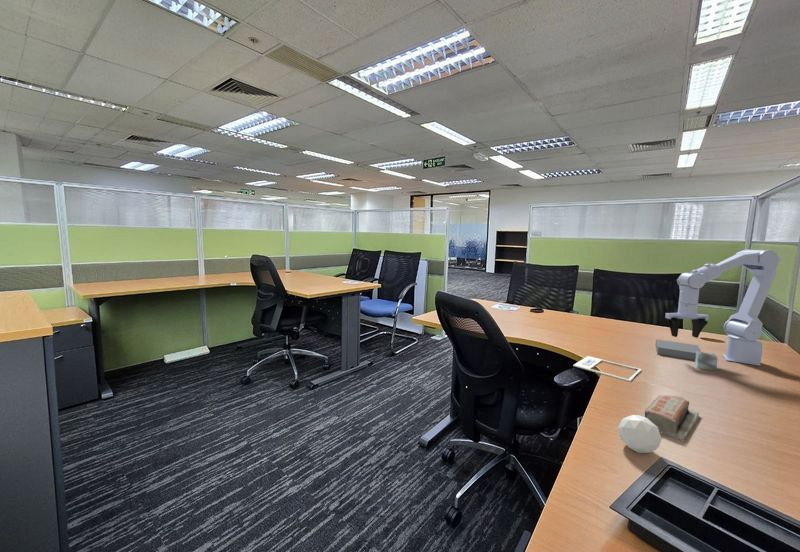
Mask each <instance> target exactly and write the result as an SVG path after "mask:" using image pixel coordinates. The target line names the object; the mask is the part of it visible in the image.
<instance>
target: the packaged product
mask: <svg viewBox="0 0 800 552" xmlns="http://www.w3.org/2000/svg"><path fill="white" fill-rule="evenodd" d="M689 405H690V401H689V400H686V399H685V398H684V397H681V396H676V395H675V396H674V395H666V394H665V395H663V394H661V395H658V396H657V397H655V399H654V400H653V401H651V402H650V404H649V405H648V406H647V407H646V408H645V409H644V411H643V412H642V413H641V414H640V416H643V417H645V418H648V419H649V420H650V421H651V422H652V423H653V424H655V425H656V426H657V427H658V429H659V433H660V432H662V433H661V434H663V433H665V434H664V435H666V434H667V435H666V436H669V437H671V436H672V437H671V438H674V437H675V438H674V439H677V438H678V440H680V439H681V440H680V441H682V440H684V439H685V440H686V438H687V436H688V435H689V433H690V432H691V431H692V429H693V427H694V426H695V424H696V422H697V420H698V418H699V414H700V411H697V410H692V409H689ZM690 430H691V431H690ZM685 440H684V441H685Z"/></svg>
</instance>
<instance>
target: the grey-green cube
mask: <svg viewBox="0 0 800 552" xmlns="http://www.w3.org/2000/svg"><path fill="white" fill-rule="evenodd" d="M718 359H719V358H718V356H717V355H716V353H710V352H705V351H704V352H703V351H701V352H698V351H696V359H695V360H694V361H695V362H694V364H695V366H696V368H697V369H704V370H707V371H708V370H709V371H714V372H717V367H718Z"/></svg>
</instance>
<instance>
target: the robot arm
mask: <svg viewBox="0 0 800 552" xmlns="http://www.w3.org/2000/svg"><path fill="white" fill-rule="evenodd" d="M780 261H781V257H780V256H779V255H778V253H777V252H776V251H775V250H773V249H766V250H765V249H749V248H747V249H743V250H741V251H738V252H737V251H736V253H735V254H734V255H732V256H730V257H728V258H726V259H723V260H722V261H719V262H718V263H716V264H715V263H705V264H703V266H702V267H699V268H697V269H693V270H691V271H690V272H683V273H681V274H680V275H679V276H678V278H677V279H676V283H677V285H678V289H679V297H678V307H677V312H665V316H664V318H665V321H666V322H667V324H668V327H669V330H670V333H671V336H672V337H675V338H677V337H678V336H679V335H678V333H679V328H680V325H681V323H682V321H681V320H690V321H691V328H692V330H691V337H692V338H695V339H698V338H699V335H700V334H701V332H702V331H703V329H704V328H705V327H706V325H708V323H709V322H708V321H709V320H710V315H709V314H707V313H706V314H705V313H704V314H703V313H698V308H699V307H698V306H699V297H700V289H702V288H703V287H704V286H705V284H706V283H707V282H709V281H710V282H711V281H712V280H714V279H717V278H719V277H721V275H722V273H723V272H726V271H729V270H731V269H734V268H737V267H740V266H743V267H744V268H745V269H747V270H748V271H750V272H751V273H752V275H753V276H752V278H751V281H750V283H749V285H748V286H747V287H748V288H747V290H746V293H745V295H744V297H743V300H742V302H741V303H740V307H739V309H738V312H736V313H734V314H732V315H730V316H729V318H728V320H726V321H725V322H724V324H723V330H724V332H725V333H726V336H727V342H726V349H725V350H726V351H725V353H723V354H722V357H724V359H725V360H726V361H728V362H735V363H740V364H746V365H753V366H759V367H761V362H762V356H763V342H762V341H761V340H758V339H760V337H761V336H762V333H763V331H762V327H763V325H764V323H763V322H762V321H761V320H760V319H759V318H758V317H759V315H760V312H761V310H762V308H763V306H764V303H765V300H766V298H767V296H768V294H769V292H770V289H771V287H772V284H773V283H774V280H775V277H776V275H777V268H778V266H779V263H780Z"/></svg>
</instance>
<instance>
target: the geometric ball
mask: <svg viewBox="0 0 800 552" xmlns="http://www.w3.org/2000/svg"><path fill="white" fill-rule="evenodd" d="M640 415H641V414H640ZM640 415H639V414H638V415H637V414H632V415H627V416H626V417H624V418H622V419H621V420H620V422H619V425H618V427H617V431H618V434H619V438H620V440H621V441H622V442H623V443H624V444H625V445H626V446H627V447H628V448H629V449H630V450H632V451H635V452H636V453H638V454H648V453H653V452H654V451H656V450H657V449H659V447H660V446H661V445H660V444H661V442H662V437H661V433H660V432H659V429H658V427H657V426H656V425H655V424H653V423H652V422H651V421H650V420H649V419H648V418H645V417H643V416H640Z"/></svg>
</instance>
